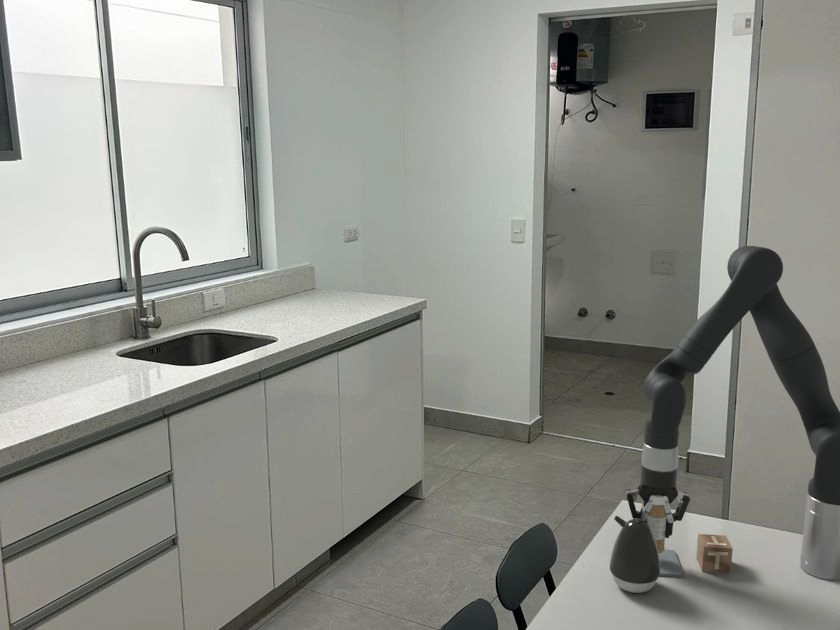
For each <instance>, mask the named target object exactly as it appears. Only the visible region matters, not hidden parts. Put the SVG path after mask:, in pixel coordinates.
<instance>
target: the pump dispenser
mask: <svg viewBox="0 0 840 630" xmlns="http://www.w3.org/2000/svg"><path fill="white" fill-rule="evenodd" d="M613 520H614V521H615V522H616V523H617V524H618V525H619V526H621V529H620V530H619V532H618V534H617V537H616V539H615V541H614V544H613V547H612V552H611V556H610V561H609V571H610V573H611V577H612V578H613V581H614V583H615V584H616V585H617V586H618V587H619V588H621V589H622V590H624V591H626V592H629V593H634V594H642V593H646V592H648V591H650V590H651V589H652V588H653V587H654V586H655V584H656V582H657V581H658V579H659V577H660V576H659V575H660V563H659V554H658V549H657V545H656V541H655V538H654V535H653V533H652V531H651V529H650V527H649V526H648V524H647V523H646V522H645V521H643V520H641V519H637V518H636V519H634V518H632V519H631V518H630V519H629V520H628V521H626V520H624V518H623V519H622V517H620V516H619V515H615V516H614V519H613Z"/></svg>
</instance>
